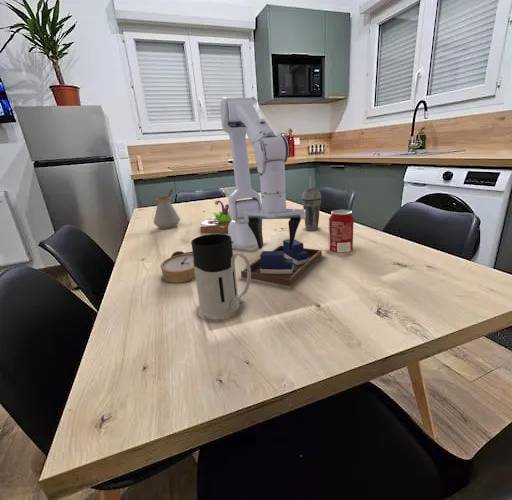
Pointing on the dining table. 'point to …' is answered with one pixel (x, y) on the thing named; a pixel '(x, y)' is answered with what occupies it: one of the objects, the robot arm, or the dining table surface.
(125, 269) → the dining table surface
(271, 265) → the trainer
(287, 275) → the shoe tray
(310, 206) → the beverage cup
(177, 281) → the alarm clock
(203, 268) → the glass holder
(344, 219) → the soda can
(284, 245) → the trainer
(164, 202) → the coffee pot
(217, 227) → the plant
